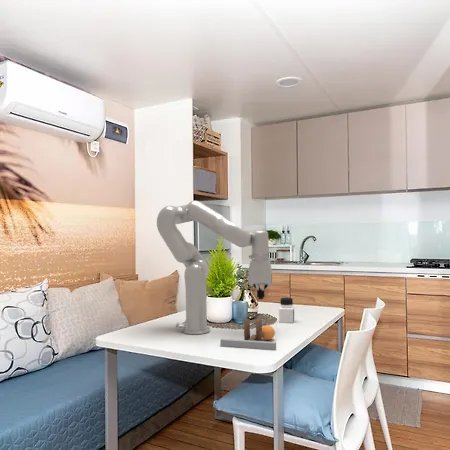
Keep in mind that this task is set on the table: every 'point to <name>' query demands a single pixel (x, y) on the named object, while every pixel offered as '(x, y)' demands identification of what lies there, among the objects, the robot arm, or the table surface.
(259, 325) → the back pin right
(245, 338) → the back pin left
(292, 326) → the table surface
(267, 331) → the ball
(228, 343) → the stopper rail
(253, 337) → the front pin
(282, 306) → the medicine bottle
